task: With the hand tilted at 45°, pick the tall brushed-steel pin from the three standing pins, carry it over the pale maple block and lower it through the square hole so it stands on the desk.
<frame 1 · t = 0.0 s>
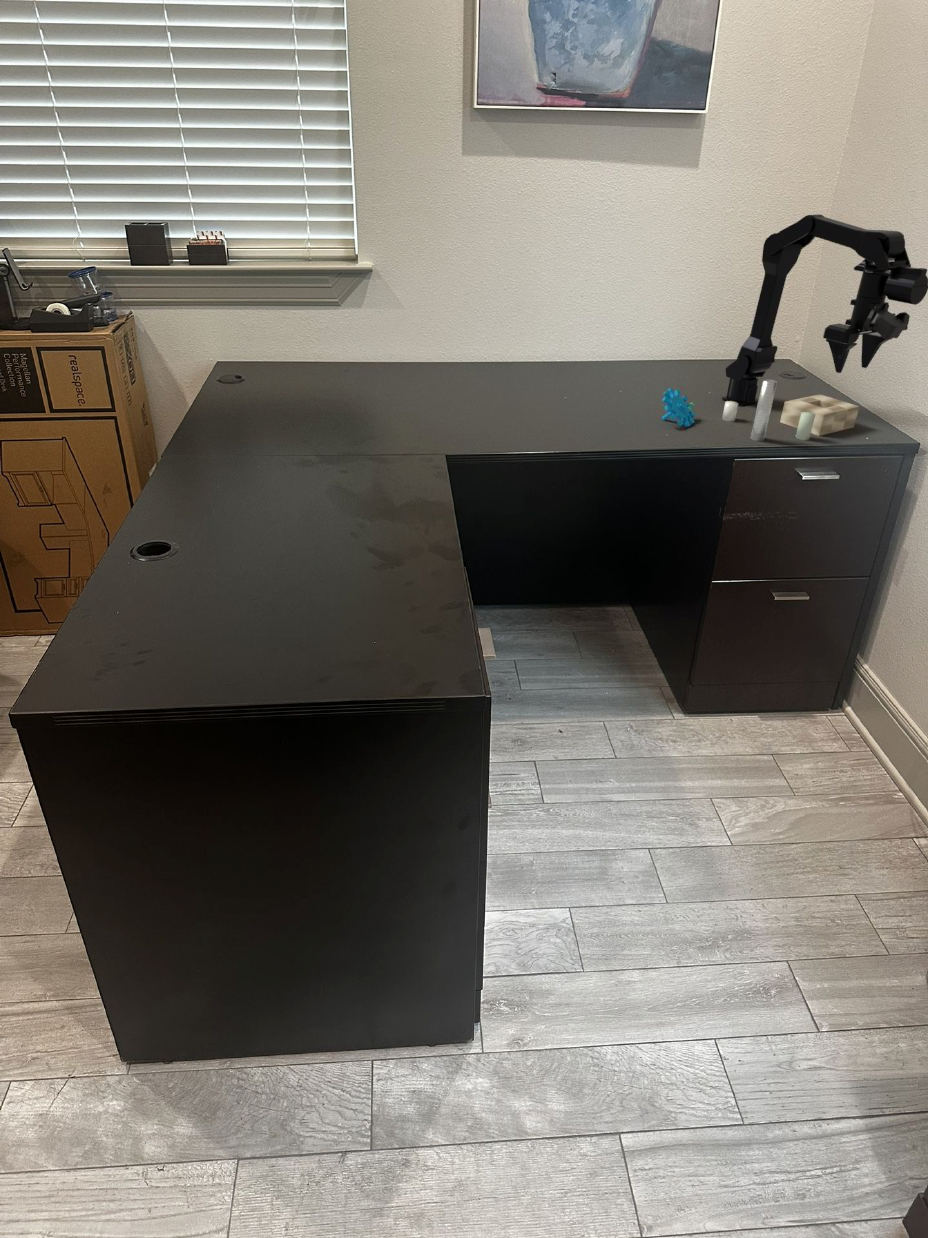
hand: (851, 369, 185), 15 cm above the table, tool pointing down, fingers open, 9 cm apart
long pin: (757, 438, 188), on the table
mid pin: (802, 437, 190), on the table
short pin: (728, 419, 200), on the table
blue spiky toy: (677, 423, 197), on the table
hole block: (816, 424, 198), on the table
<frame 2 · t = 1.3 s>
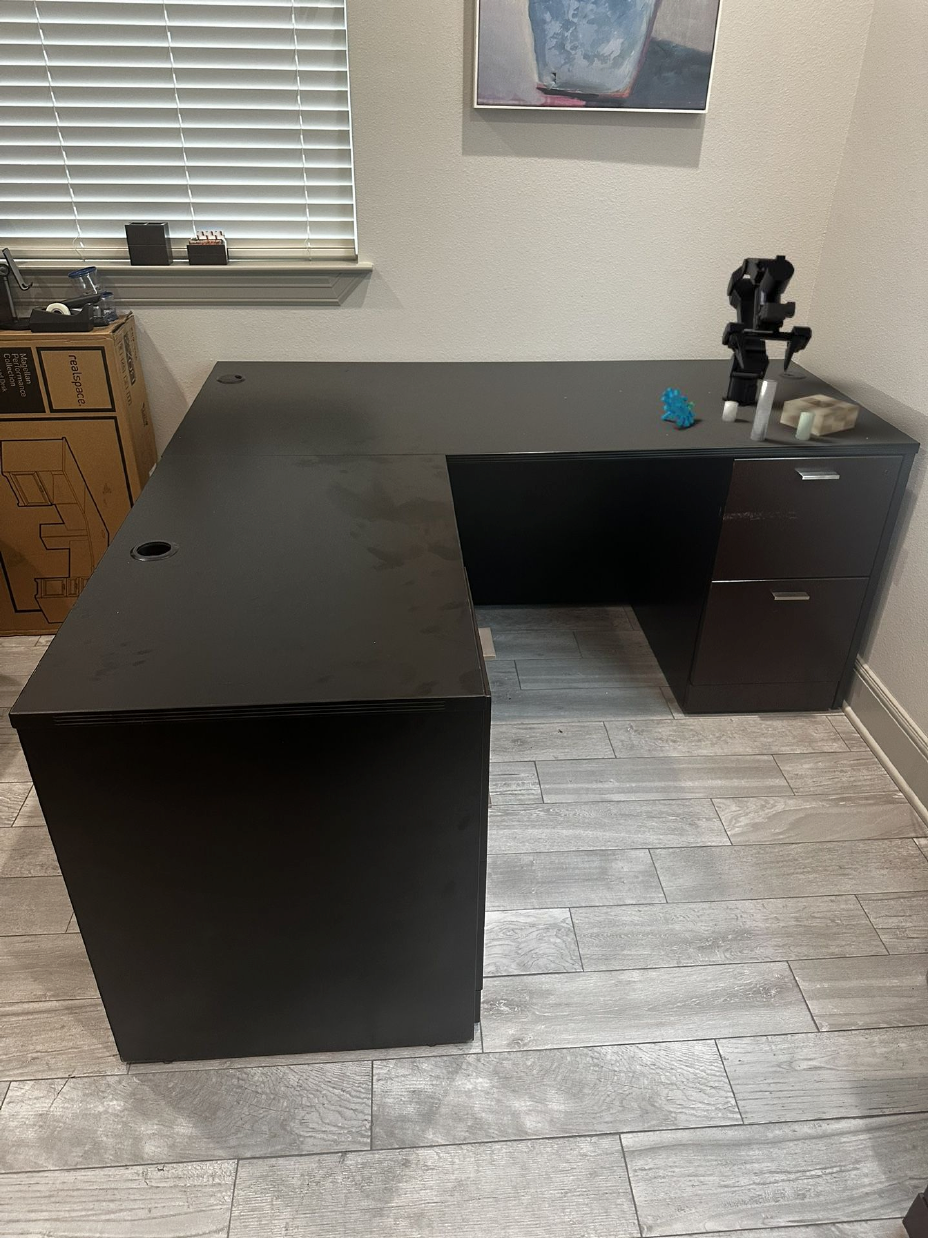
hand: (764, 369, 188), 13 cm above the table, tool tilted 45°, fingers open, 9 cm apart
nothing on the table moved.
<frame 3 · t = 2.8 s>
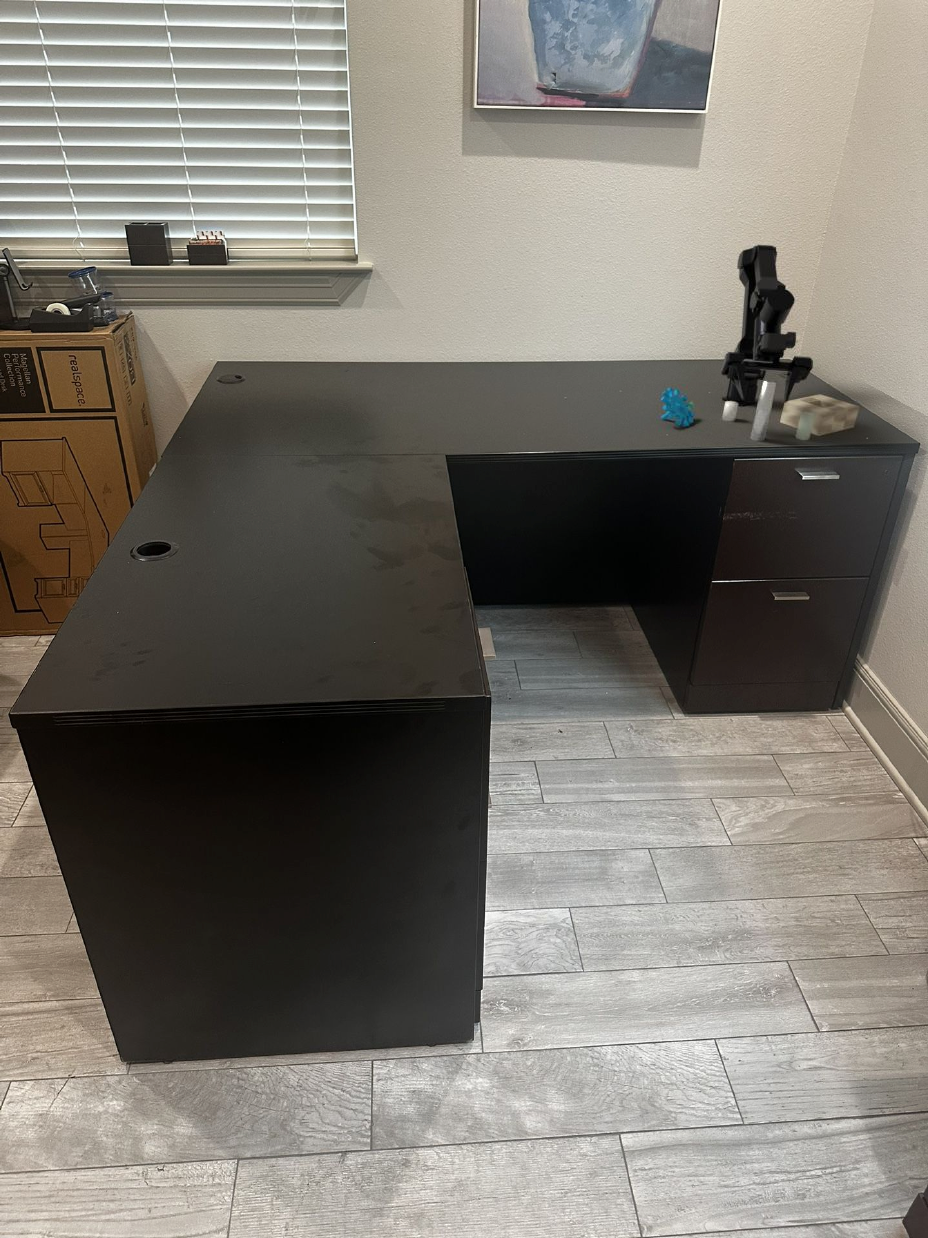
hand: (764, 400, 185), 9 cm above the table, tool tilted 45°, fingers open, 9 cm apart
nothing on the table moved.
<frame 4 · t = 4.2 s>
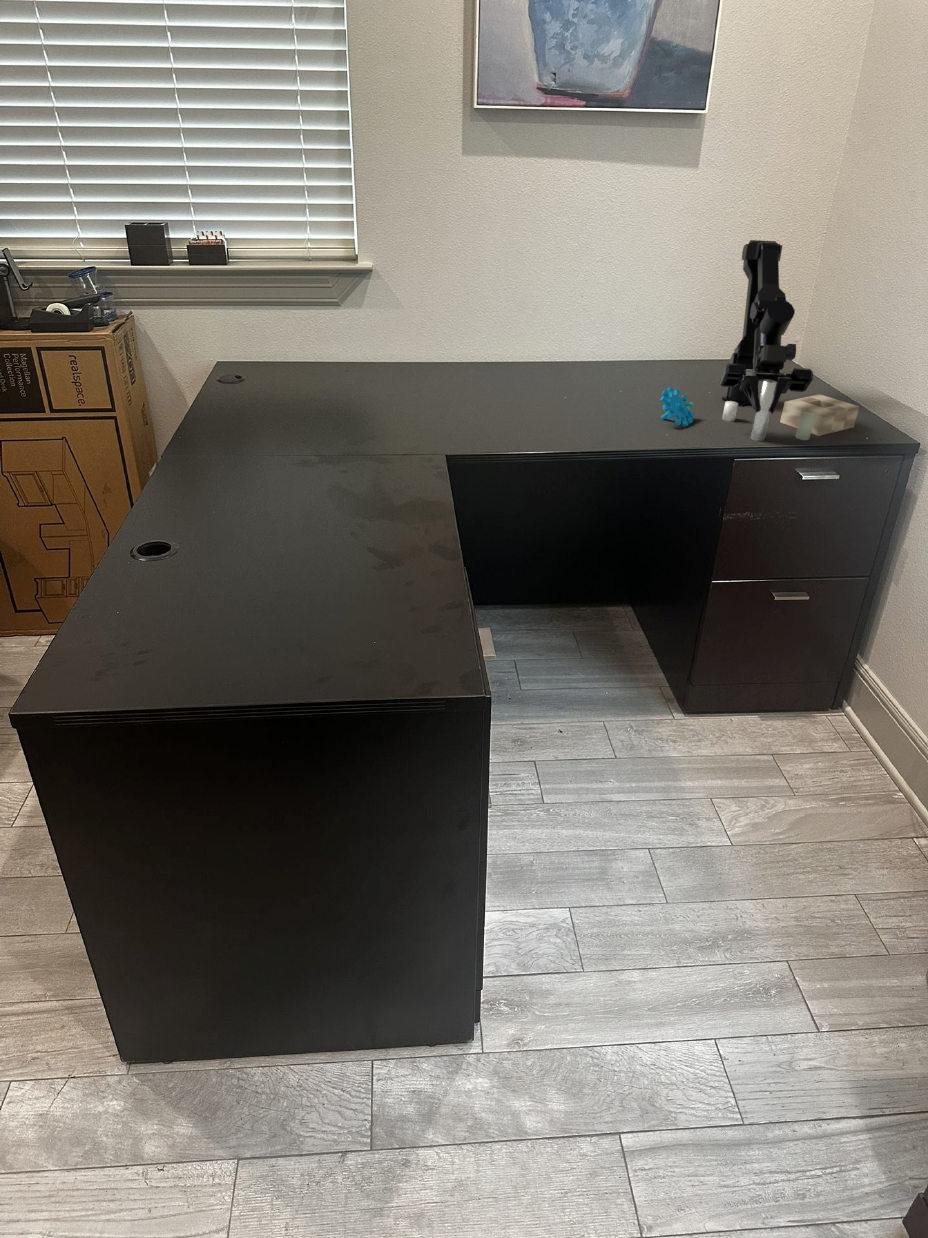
hand: (764, 412, 184), 7 cm above the table, tool tilted 45°, fingers closed on long pin, 3 cm apart
long pin: (757, 438, 188), on the table, touching gripper
everything else where it was.
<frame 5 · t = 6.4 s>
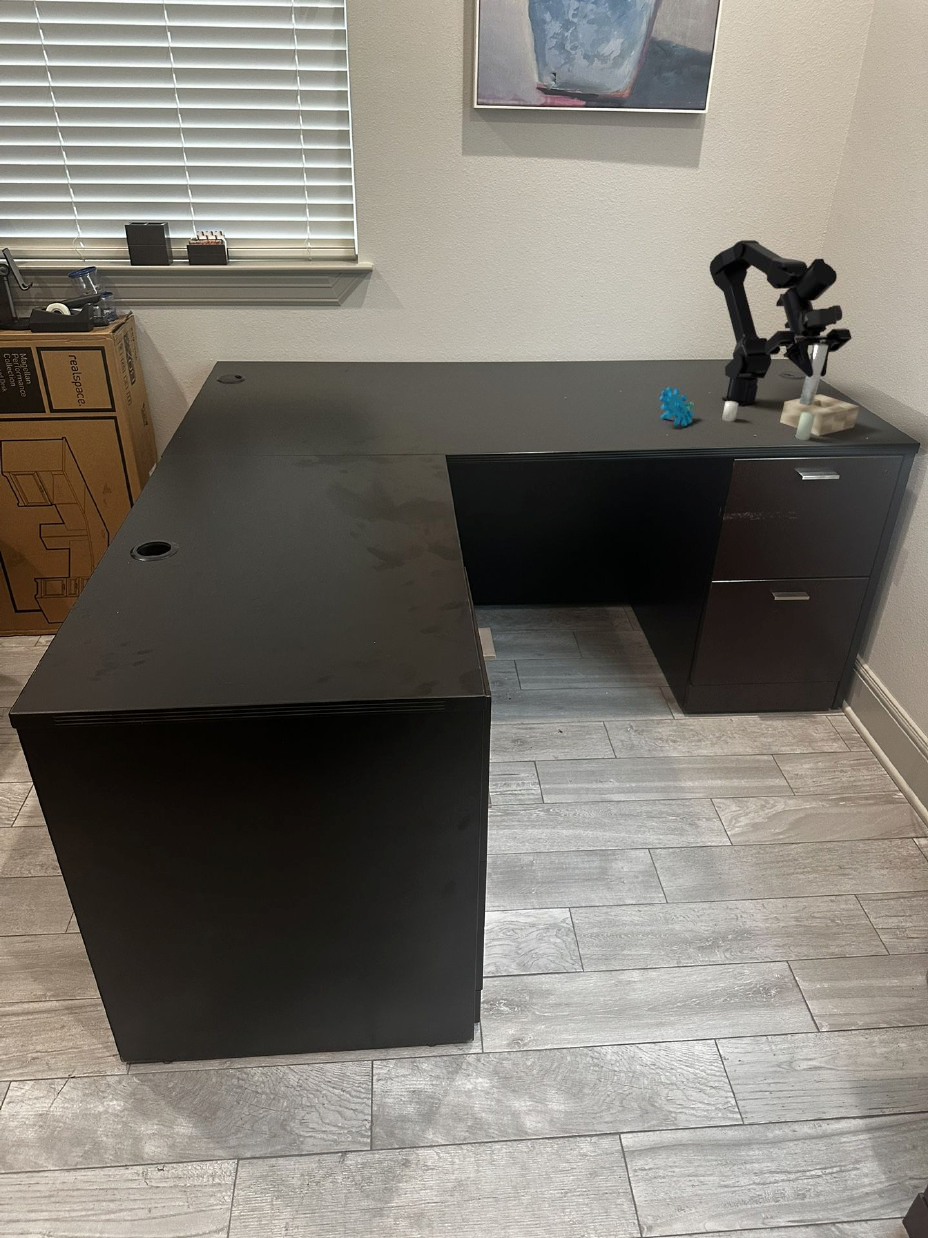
hand: (817, 375, 184), 14 cm above the table, tool tilted 45°, fingers closed on long pin, 3 cm apart
long pin: (806, 403, 189), point 7 cm above the table, touching gripper
everything else where it was.
when the fingers open (8 cm above the table, at t = 8.8 s): long pin stays where it is, resting in hole block.
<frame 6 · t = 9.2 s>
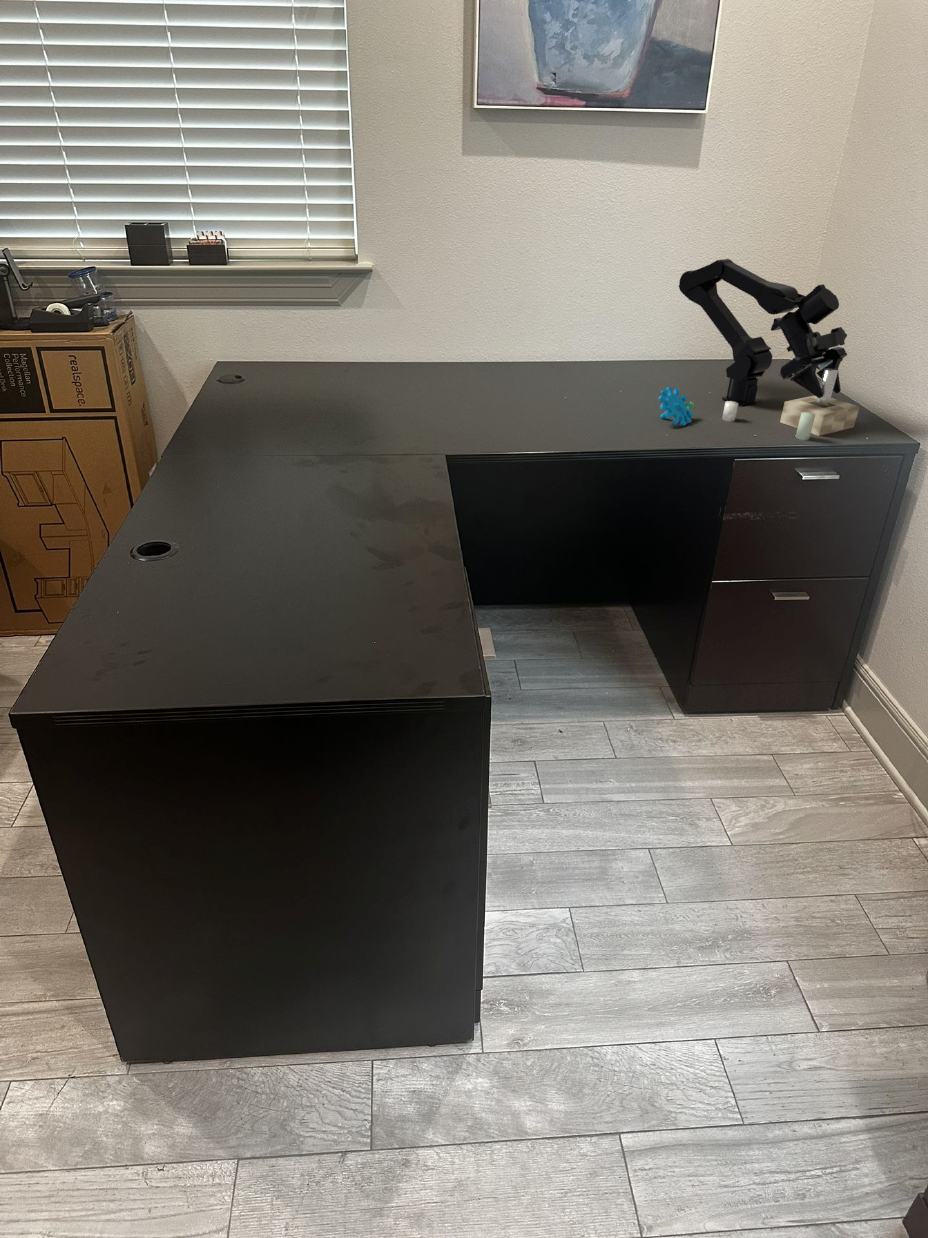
hand: (830, 394, 193), 8 cm above the table, tool tilted 45°, fingers open, 7 cm apart
long pin: (816, 424, 198), resting in hole block
everything else where it was.
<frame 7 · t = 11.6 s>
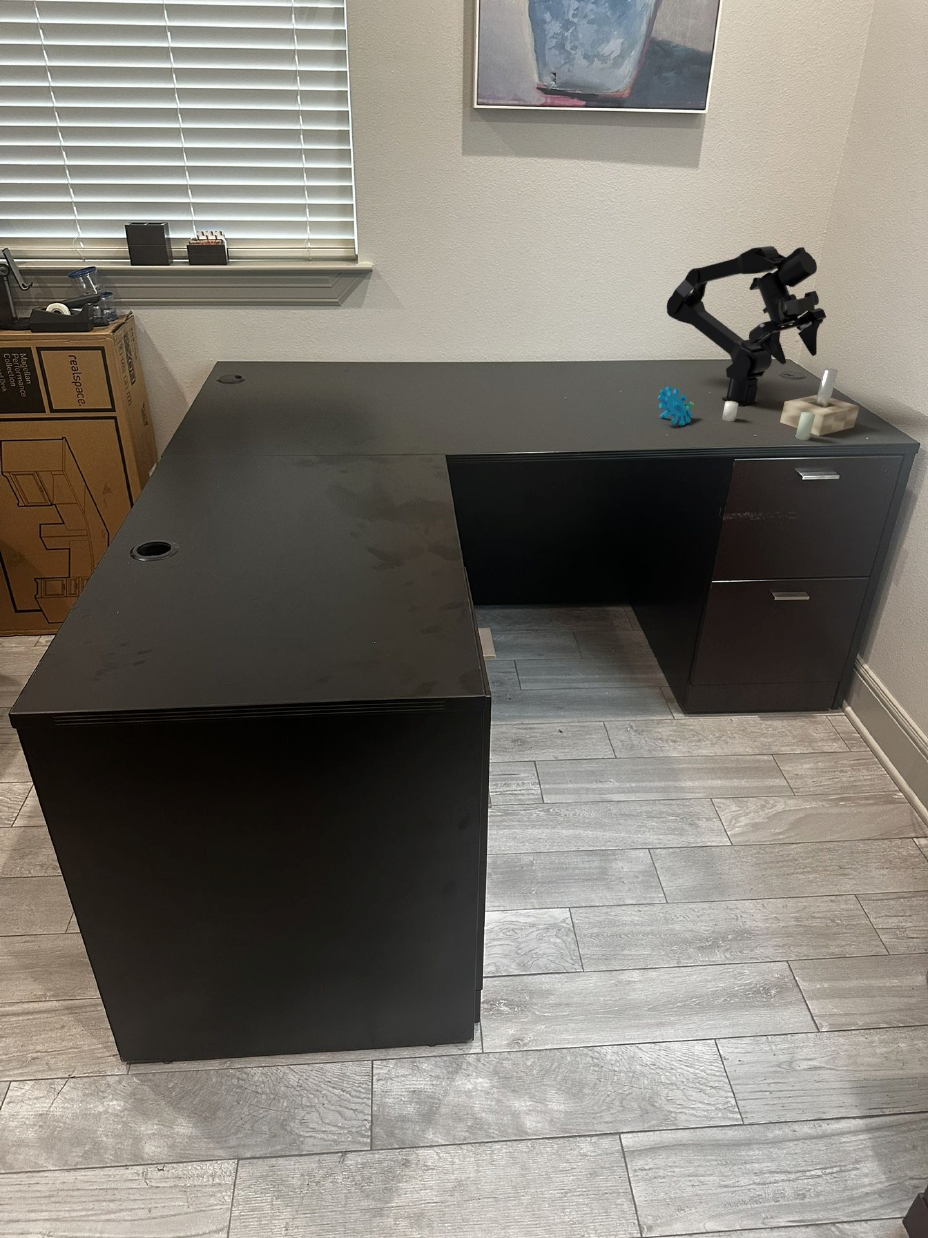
hand: (799, 359, 196), 14 cm above the table, tool tilted 40°, fingers open, 9 cm apart
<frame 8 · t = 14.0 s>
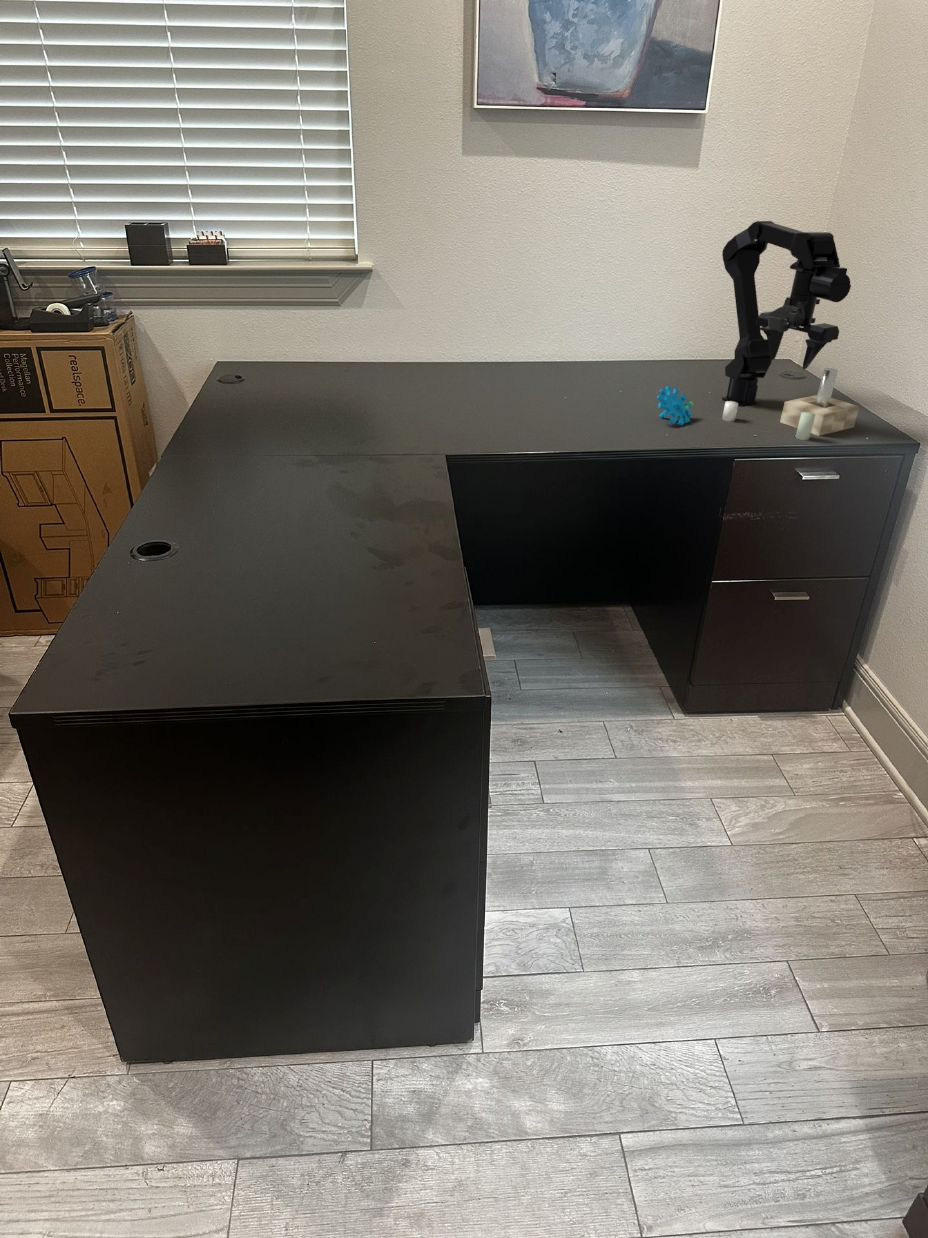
hand: (788, 363, 195), 13 cm above the table, tool pointing down, fingers open, 9 cm apart
at the end: long pin 0.0 cm off-centre on the hole block, point 0.0 cm above the hole block's base; long pin tilted 0°; the gripper is holding nothing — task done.
